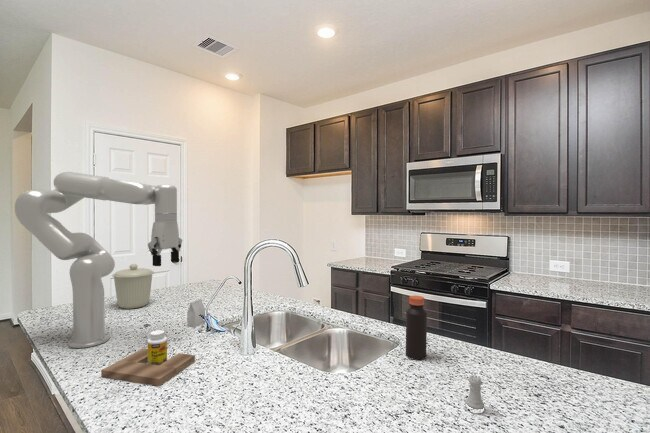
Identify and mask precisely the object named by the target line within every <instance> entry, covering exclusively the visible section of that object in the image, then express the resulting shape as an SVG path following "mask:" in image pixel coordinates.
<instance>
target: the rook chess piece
mask: <svg viewBox="0 0 650 433" xmlns="http://www.w3.org/2000/svg"><path fill="white" fill-rule="evenodd" d="M468 382H469V384H470V385H468V386H469V395H468V396H467V399H466V400H465V405H466V404H467V405H468V406H469V407H471V408H473V409H483V408H484V409H485V403H484V402H483V399H482V393H481V391H482V387H481V386H482V384H483V381H482V378H481V377H480V376H478V375H476V374H475V375H470V376H469V378H468Z"/></svg>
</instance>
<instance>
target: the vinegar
mask: <svg viewBox="0 0 650 433" xmlns="http://www.w3.org/2000/svg"><path fill="white" fill-rule="evenodd" d="M408 304H409V308H408V309H407V310H406V312H405V320H406V321H405V357H407V356H408V357H410V358H413V359H423V358H425V357H426V358H427V343H428V342H427V340H428V339H427V337H428V332H427V330H428V329H427V328H428V313H427V311H426V310H425V308H424V307H425V297H424V296H421V295H417V294H415V295H409V297H408ZM408 357H407V358H408ZM410 358H409V359H410ZM426 358H425V359H426ZM413 359H412V360H413ZM423 360H424V359H423Z"/></svg>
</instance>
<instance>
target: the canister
mask: <svg viewBox="0 0 650 433" xmlns="http://www.w3.org/2000/svg"><path fill="white" fill-rule="evenodd" d="M128 267H129V268H126V269H121V270H118V271H115V272H114V273H113V274H112V275H111V276H112V277H113V281H114V288H115V297H116V302H117V305H118V307H120V308H121V309H127V310H128V309H129V310H132V309H137V308H143V307H145V306H147V305H148V303H149V301H150V297H151V290H152V281H153V274H154V271H153V270H152V269H149V268H145V267H143V268H142V267H138V265H137V263H131V264H130V265H129V266H128Z"/></svg>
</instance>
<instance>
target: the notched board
mask: <svg viewBox="0 0 650 433" xmlns="http://www.w3.org/2000/svg"><path fill="white" fill-rule="evenodd" d="M195 362H196V354H195V355H194V354H188V353H180V352H178V353H177V354H175V355H174V356H172V357H171V358H169V359H167V361H165V362H164V363H162V364H161V365H153V364H148V348H140V349H139V350H137V351H136V352H134V353H132V354H129V355H127V356H126V357H124V358H122V359H120V360H118V361H116V362H115V363H112V364H110V365H108V366H107V367H104V368H103V369H101V370H100V372H101V376H100V377H101V378H106V379H112V380H118V381H124V382H125V381H126V382H130V383H138V384H143V385H151V386H157V387H161V386H162V385H164V384H165V383H166V382H168V381H170V380H171V379H172V378H174V377H175V376H176V375H178V374H179V373H180V372H182V371H184V370H185V369H186V368H188V367H190V366H191V365H192V364H193V363H195Z"/></svg>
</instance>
